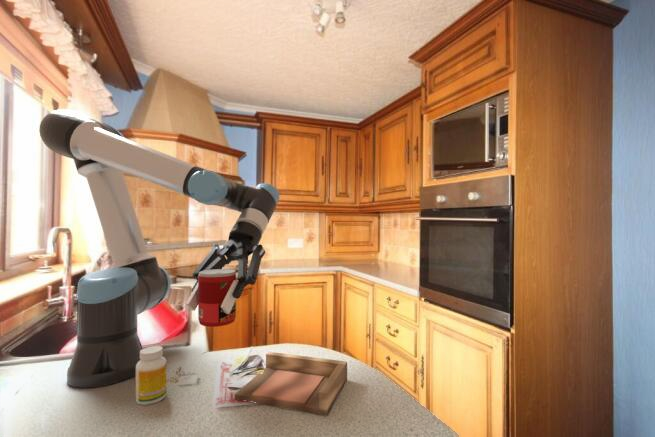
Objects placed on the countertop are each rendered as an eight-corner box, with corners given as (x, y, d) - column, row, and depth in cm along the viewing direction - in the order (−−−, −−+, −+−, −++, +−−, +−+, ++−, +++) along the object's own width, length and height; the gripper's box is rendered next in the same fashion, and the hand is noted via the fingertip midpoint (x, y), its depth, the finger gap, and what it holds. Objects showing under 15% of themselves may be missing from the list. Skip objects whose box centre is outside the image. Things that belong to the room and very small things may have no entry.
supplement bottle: (130, 400, 64) (130, 350, 64) (157, 388, 68) (157, 342, 69) (144, 409, 61) (144, 357, 61) (171, 396, 65) (171, 347, 65)
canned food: (225, 328, 67) (225, 274, 67) (190, 326, 69) (190, 273, 69) (242, 317, 75) (242, 269, 75) (210, 315, 76) (210, 268, 77)
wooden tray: (234, 399, 64) (234, 378, 64) (269, 368, 77) (269, 351, 77) (327, 416, 58) (326, 393, 58) (347, 380, 71) (347, 361, 71)
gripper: (290, 240, 83) (257, 322, 68) (220, 239, 90) (176, 314, 74) (280, 219, 79) (243, 302, 63) (207, 220, 85) (157, 295, 69)
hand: (207, 308), depth 69 cm, fingers closed on canned food, 8 cm apart
